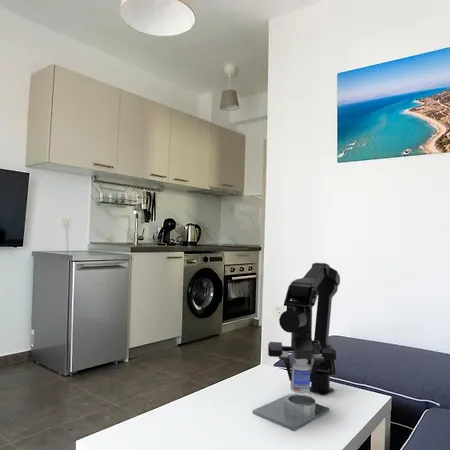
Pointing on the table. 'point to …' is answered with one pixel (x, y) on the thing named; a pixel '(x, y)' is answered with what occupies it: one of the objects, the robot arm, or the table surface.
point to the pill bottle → (300, 376)
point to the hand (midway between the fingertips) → (300, 381)
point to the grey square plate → (292, 411)
